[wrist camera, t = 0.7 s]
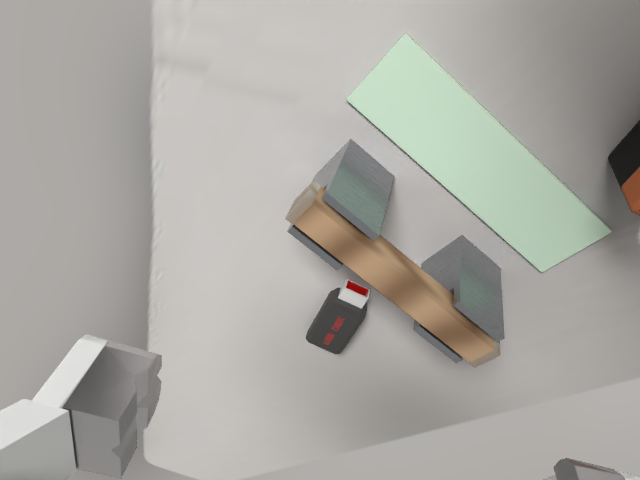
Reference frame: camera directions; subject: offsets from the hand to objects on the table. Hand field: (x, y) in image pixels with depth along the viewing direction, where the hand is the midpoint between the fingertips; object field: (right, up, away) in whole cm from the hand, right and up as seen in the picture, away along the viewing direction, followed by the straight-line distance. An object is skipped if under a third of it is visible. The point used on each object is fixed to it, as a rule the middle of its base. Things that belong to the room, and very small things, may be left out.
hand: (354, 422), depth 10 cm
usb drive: (+2, -6, +56) cm, 56 cm away
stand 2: (+15, +1, +46) cm, 49 cm away
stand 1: (+3, +10, +43) cm, 44 cm away
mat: (+15, +11, +39) cm, 43 cm away
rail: (+7, +1, +38) cm, 39 cm away
